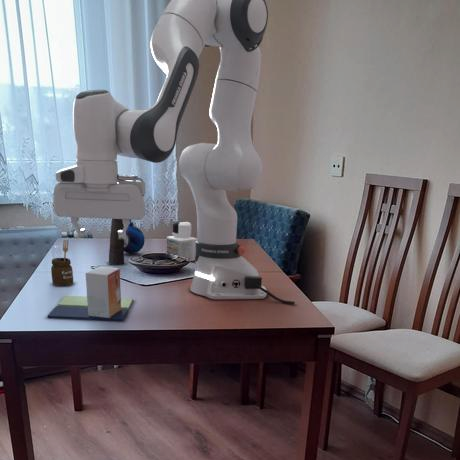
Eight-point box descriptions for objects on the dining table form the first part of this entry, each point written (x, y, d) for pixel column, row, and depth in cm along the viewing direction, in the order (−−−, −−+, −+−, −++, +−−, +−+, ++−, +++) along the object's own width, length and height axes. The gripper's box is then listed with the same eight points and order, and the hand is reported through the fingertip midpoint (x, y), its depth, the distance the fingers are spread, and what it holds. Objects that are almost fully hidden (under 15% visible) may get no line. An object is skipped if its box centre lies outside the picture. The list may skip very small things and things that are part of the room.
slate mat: (127, 311, 141) (127, 309, 141) (122, 321, 134) (122, 319, 133) (56, 308, 140) (56, 306, 140) (47, 318, 133) (47, 315, 133)
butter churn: (125, 268, 181) (122, 176, 169) (98, 265, 183) (93, 174, 170) (135, 262, 190) (133, 174, 177) (108, 260, 191) (104, 172, 178)
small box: (109, 318, 133) (107, 275, 128) (87, 316, 134) (84, 272, 129) (122, 309, 140) (120, 267, 135) (101, 307, 141) (98, 265, 136)
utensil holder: (48, 285, 159) (43, 242, 153) (60, 280, 164) (57, 238, 159) (66, 287, 157) (62, 244, 152) (78, 282, 163) (75, 240, 157)
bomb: (110, 254, 199) (108, 210, 192) (127, 249, 208) (125, 207, 202) (134, 257, 196) (132, 213, 189) (149, 252, 205) (149, 210, 198)
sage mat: (132, 301, 149) (132, 298, 149) (128, 309, 142) (128, 307, 142) (65, 297, 149) (65, 295, 148) (57, 306, 141) (57, 304, 141)
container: (166, 258, 198) (166, 220, 192) (182, 256, 203) (183, 219, 197) (180, 262, 193) (180, 224, 187) (196, 260, 198) (197, 222, 192)
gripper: (146, 174, 125) (148, 237, 132) (55, 170, 125) (61, 233, 131) (143, 177, 120) (145, 242, 126) (47, 173, 119) (54, 239, 126)
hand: (101, 238), depth 129 cm, fingers open, 8 cm apart
